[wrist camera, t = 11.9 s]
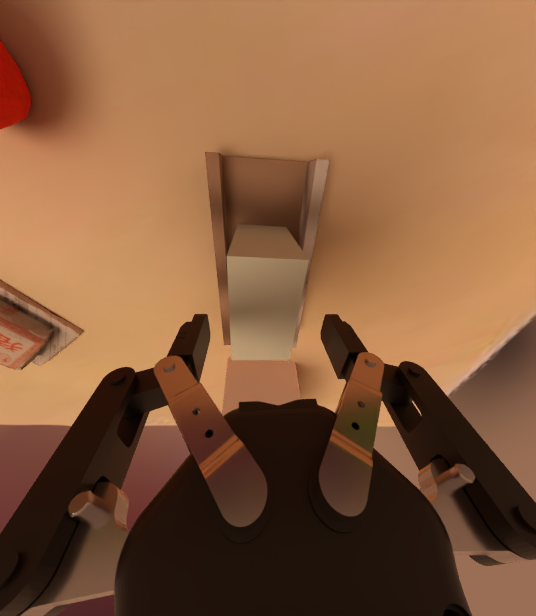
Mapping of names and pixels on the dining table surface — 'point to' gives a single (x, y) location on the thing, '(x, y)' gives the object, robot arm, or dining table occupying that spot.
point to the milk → (260, 383)
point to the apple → (12, 91)
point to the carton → (264, 291)
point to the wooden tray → (262, 208)
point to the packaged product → (30, 331)
